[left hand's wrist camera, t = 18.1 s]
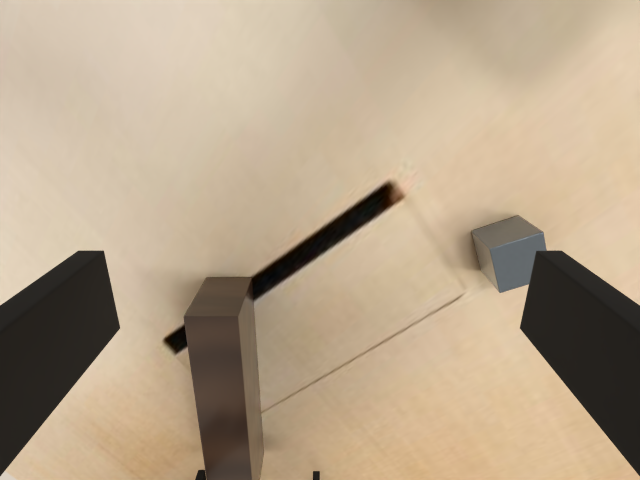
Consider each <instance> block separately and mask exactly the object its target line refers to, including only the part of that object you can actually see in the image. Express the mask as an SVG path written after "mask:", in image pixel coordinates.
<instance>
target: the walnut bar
mask: <svg viewBox="0 0 640 480" xmlns="http://www.w3.org/2000/svg"><path fill="white" fill-rule="evenodd" d="M184 323H185V330H186V337H187V344H188V351H189V358H190V365H191V372H192V379H193V386H194V393H195V400H196V407H197V414H198V421H199V428H200V435H201V442H202V449H203V456H204V464H205V471H206V478H207V480H260V475H261V468H262V462H263V455H264V449H263V434H262V419H261V405H260V390H259V375H258V361H257V346H256V331H255V317H254V302H253V287H252V278H206V279H205V281H204V283H203V284H202V286H201V288H200V290H199V291H198V293H197V295H196V296H195V298H194V300H193V302H192V303H191V305H190V307H189V308H188V310H187V312H186V314H185V315H184Z"/></svg>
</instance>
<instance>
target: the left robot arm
mask: <svg viewBox="0 0 640 480" xmlns="http://www.w3.org/2000/svg"><path fill="white" fill-rule="evenodd" d="M119 329H120V325H119V321H118V316H117V311H116V307H115V302H114V297H113V292H112V288H111V283H110V278H109V273H108V269H107V264H106V259H105V254H104V251H77V252H76V253H75V254H73V255H72V256H70V257H69V258H67V259H66V260H65V261H63V262H62V263H60V264H59V265H57V266H56V267H55V268H53V269H52V270H50V271H49V272H48V273H46V274H45V275H43V276H42V277H40V278H39V279H38V280H36V281H35V282H33V283H32V284H30V285H29V286H28V287H26V288H25V289H23V290H22V291H20V292H19V293H18V294H16V295H15V296H13V297H12V298H10V299H9V300H8V301H6V302H5V303H3V304H2V305H0V476H1V474H2V473H3V472H4V471H5V470H6V468H7V467H8V466H9V465H10V463H11V462H12V461H13V460H14V459H15V457H16V456H17V455H18V454H19V452H20V451H21V450H22V449H23V447H24V446H25V445H26V444H27V442H28V441H29V440H30V439H31V438H32V436H33V435H34V434H35V433H36V431H37V430H38V429H39V428H40V426H41V425H42V424H43V423H44V421H45V420H46V419H47V418H48V417H49V415H50V414H51V413H52V412H53V410H54V409H55V408H56V407H57V405H58V404H59V403H60V402H61V400H62V399H63V398H64V397H65V396H66V394H67V393H68V392H69V391H70V389H71V388H72V387H73V386H74V384H75V383H76V382H77V381H78V379H79V378H80V377H81V376H82V375H83V373H84V372H85V371H86V370H87V368H88V367H89V366H90V365H91V363H92V362H93V361H94V360H95V359H96V357H97V356H98V355H99V354H100V352H101V351H102V350H103V349H104V347H105V346H106V345H107V344H108V342H109V341H110V340H111V339H112V338H113V336H114V335H115V334H116V333H117V331H118V330H119ZM520 329H521V330H522V331H523V333H524V334H525V335H526V336H527V338H528V339H529V340H530V341H531V342H532V344H533V345H534V346H535V347H536V349H537V350H538V351H539V352H540V354H541V355H542V356H543V357H544V359H545V360H546V361H547V362H548V363H549V365H550V366H551V367H552V368H553V370H554V371H555V372H556V373H557V375H558V376H559V377H560V378H561V380H562V381H563V382H564V383H565V384H566V386H567V387H568V388H569V389H570V391H571V392H572V393H573V394H574V396H575V397H576V398H577V399H578V400H579V402H580V403H581V404H582V405H583V407H584V408H585V409H586V410H587V412H588V413H589V414H590V415H591V417H592V418H593V419H594V420H595V421H596V423H597V424H598V425H599V426H600V428H601V429H602V430H603V431H604V433H605V434H606V435H607V436H608V438H609V439H610V440H611V441H612V442H613V444H614V445H615V446H616V447H617V449H618V450H619V451H620V452H621V454H622V455H623V456H624V457H625V459H626V460H627V461H628V462H629V463H630V465H631V466H632V467H633V468H634V470H635V471H636V472H637V473H638V475H639V476H640V305H638V304H637V303H635V302H634V301H632V300H631V299H630V298H628V297H627V296H625V295H624V294H622V293H621V292H620V291H618V290H617V289H615V288H614V287H612V286H611V285H610V284H608V283H607V282H605V281H604V280H602V279H601V278H600V277H598V276H597V275H595V274H594V273H592V272H591V271H590V270H588V269H587V268H585V267H584V266H583V265H581V264H580V263H578V262H577V261H575V260H574V259H573V258H571V257H570V256H568V255H567V254H565V253H564V252H563V251H536V254H535V259H534V264H533V269H532V273H531V278H530V283H529V288H528V292H527V297H526V302H525V307H524V311H523V316H522V321H521V325H520Z"/></svg>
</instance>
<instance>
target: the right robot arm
mask: <svg viewBox="0 0 640 480" xmlns="http://www.w3.org/2000/svg"><path fill="white" fill-rule="evenodd" d="M195 480H206V475H205V470H198V473H197V476H196V479H195ZM313 480H320V471H313Z"/></svg>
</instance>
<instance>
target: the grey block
mask: <svg viewBox="0 0 640 480" xmlns="http://www.w3.org/2000/svg"><path fill="white" fill-rule="evenodd" d="M471 232H472V236H473V240H474V244H475V248H476V253H477V257H478V261H479V265H480V269H481V271H482V273H483V274H484V275H485V276H486V277H487V278H488V280H489V281H490V282H491V283H492V284H493V286H494V287H495V288H496V289H497V290H498V291H499V293H502V292H505V291H508V290H511V289H515V288H518V287H521V286H525V285H528V284H529V283H530V278H531V273H532V269H533V264H534V259H535V254H536V251H546V245H545V239H544V233H543V231H541V230H540V229H538V228H537V227H535V226H534V225H532V224H531V223H529V222H528V221H526V220H525V219H523V218H522V217H520V216H515V217H512V218H509V219H506V220H503V221H500V222H497V223H494V224H491V225H487V226H484V227H481V228H478V229H475V230H472V231H471Z"/></svg>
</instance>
